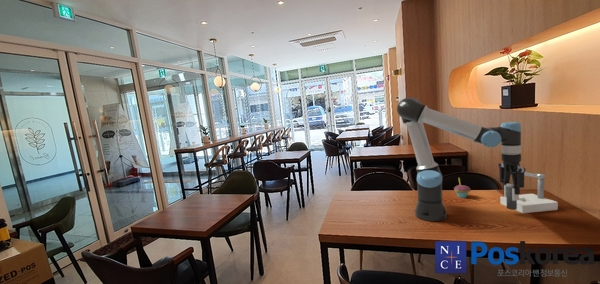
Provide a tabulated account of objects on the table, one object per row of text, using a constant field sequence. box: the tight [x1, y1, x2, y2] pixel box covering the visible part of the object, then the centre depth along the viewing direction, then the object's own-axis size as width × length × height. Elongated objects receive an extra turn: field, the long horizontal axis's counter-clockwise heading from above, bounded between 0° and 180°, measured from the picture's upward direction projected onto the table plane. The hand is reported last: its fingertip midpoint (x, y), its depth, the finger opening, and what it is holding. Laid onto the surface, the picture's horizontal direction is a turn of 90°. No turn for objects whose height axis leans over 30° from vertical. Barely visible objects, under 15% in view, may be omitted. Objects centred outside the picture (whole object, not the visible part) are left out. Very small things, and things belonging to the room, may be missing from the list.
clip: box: [524, 171, 546, 180], centre depth 140 cm, size 15×3×4 cm, turn 15°
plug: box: [506, 182, 517, 211], centre depth 129 cm, size 4×4×12 cm
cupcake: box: [453, 177, 471, 199], centre depth 158 cm, size 9×8×12 cm
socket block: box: [499, 178, 559, 214], centre depth 135 cm, size 18×14×15 cm
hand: (511, 198), depth 129 cm, fingers closed on plug, 4 cm apart
